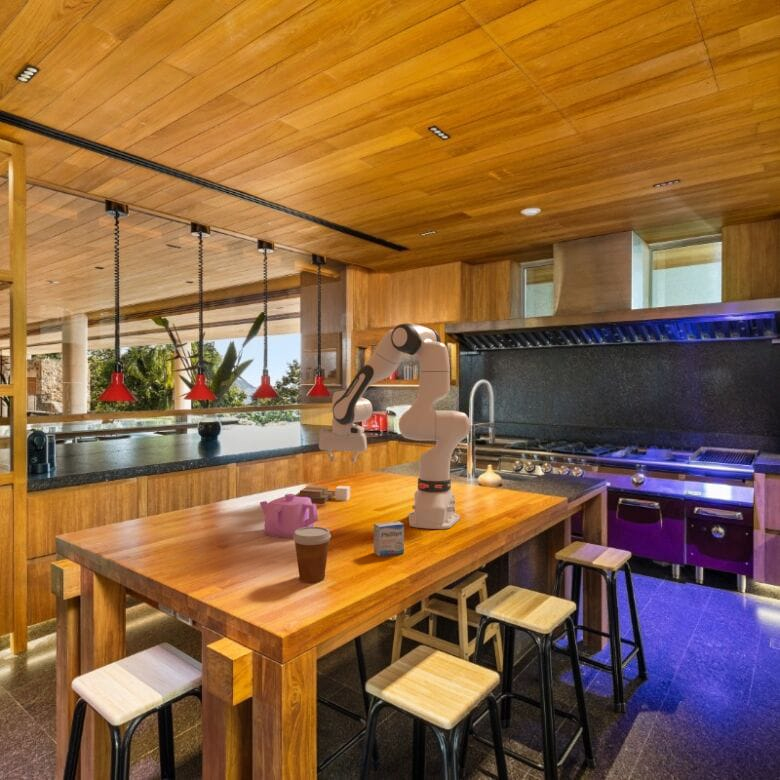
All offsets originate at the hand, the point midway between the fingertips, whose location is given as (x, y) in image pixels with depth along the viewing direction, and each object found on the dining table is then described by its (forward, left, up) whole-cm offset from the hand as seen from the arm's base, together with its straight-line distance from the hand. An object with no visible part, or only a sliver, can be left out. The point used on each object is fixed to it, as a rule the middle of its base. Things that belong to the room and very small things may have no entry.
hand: (342, 461), depth 222 cm
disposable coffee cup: (-86, -18, -16) cm, 90 cm away
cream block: (0, 0, -16) cm, 16 cm away
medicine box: (-63, -33, -16) cm, 73 cm away
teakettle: (-48, +4, -16) cm, 51 cm away
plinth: (-2, +12, -16) cm, 20 cm away
